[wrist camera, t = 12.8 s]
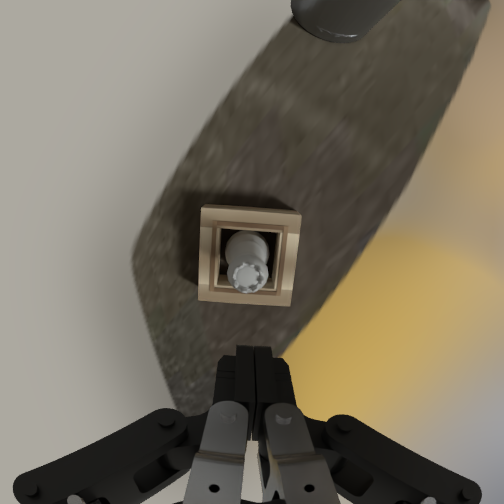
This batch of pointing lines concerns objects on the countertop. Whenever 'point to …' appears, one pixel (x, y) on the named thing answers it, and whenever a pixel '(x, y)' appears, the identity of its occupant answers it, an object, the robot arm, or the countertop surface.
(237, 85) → the countertop surface
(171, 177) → the countertop surface
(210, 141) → the countertop surface
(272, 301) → the socket block
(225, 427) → the robot arm
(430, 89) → the countertop surface
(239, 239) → the rook chess piece
